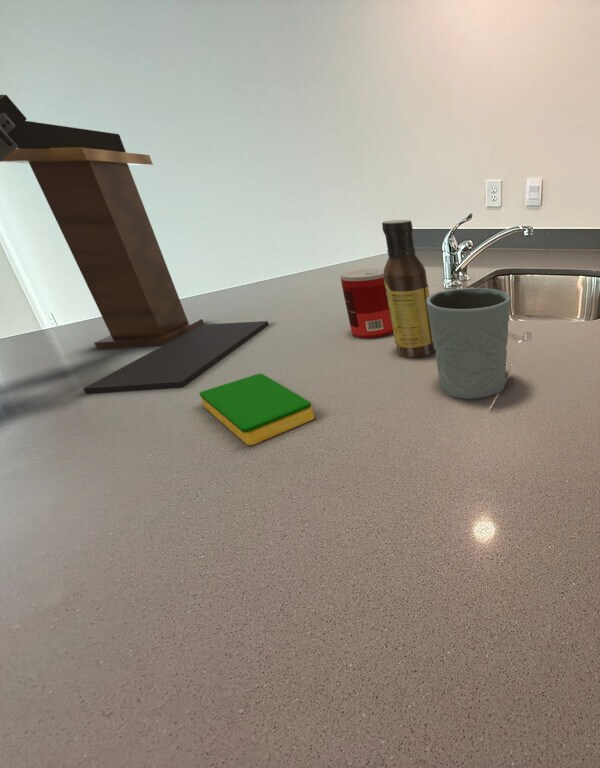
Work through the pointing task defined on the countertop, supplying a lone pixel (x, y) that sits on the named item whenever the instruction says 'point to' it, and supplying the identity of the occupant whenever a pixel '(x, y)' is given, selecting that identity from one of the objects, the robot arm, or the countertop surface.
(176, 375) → the black base pad
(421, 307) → the sauce bottle
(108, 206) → the stand
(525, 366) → the countertop surface
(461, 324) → the grey cup
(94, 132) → the long black bar
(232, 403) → the dish sponge
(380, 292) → the canned food
